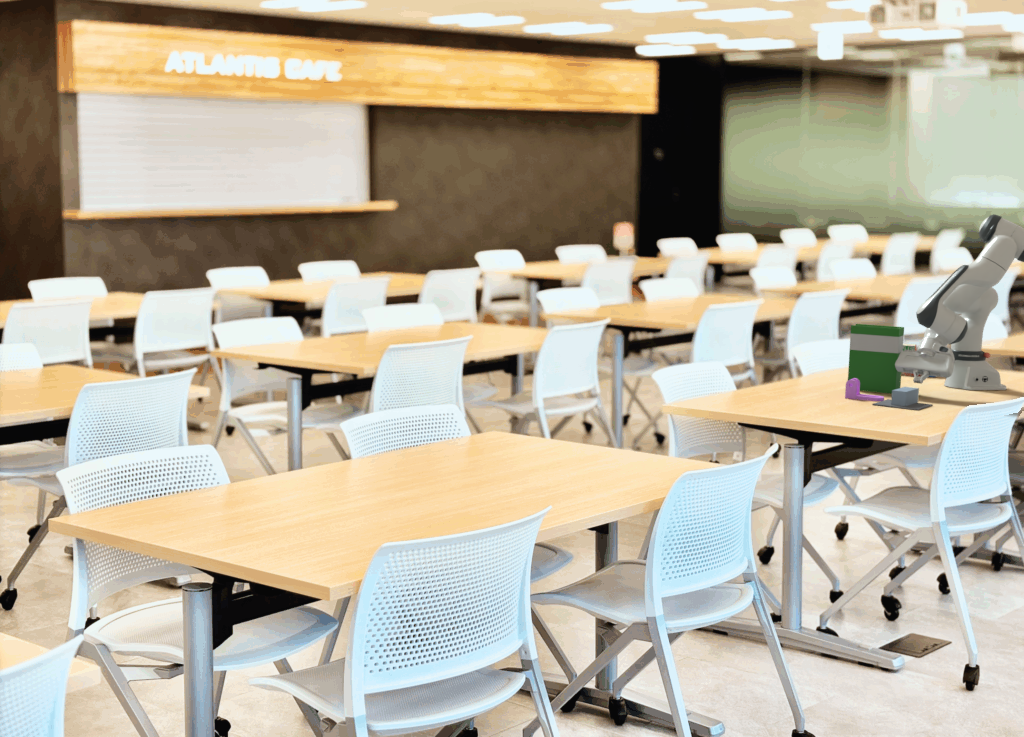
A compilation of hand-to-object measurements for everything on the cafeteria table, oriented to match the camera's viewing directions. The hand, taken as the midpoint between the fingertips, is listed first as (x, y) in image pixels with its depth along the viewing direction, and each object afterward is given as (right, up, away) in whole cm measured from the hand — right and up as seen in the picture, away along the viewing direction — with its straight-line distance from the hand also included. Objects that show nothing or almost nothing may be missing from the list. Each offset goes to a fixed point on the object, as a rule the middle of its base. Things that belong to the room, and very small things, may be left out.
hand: (917, 382), depth 470 cm
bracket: (-18, -6, 0) cm, 20 cm away
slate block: (-4, -4, -6) cm, 9 cm away
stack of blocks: (+18, +2, +68) cm, 70 cm away
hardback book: (-10, -4, +21) cm, 24 cm away
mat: (-9, -8, -12) cm, 17 cm away
